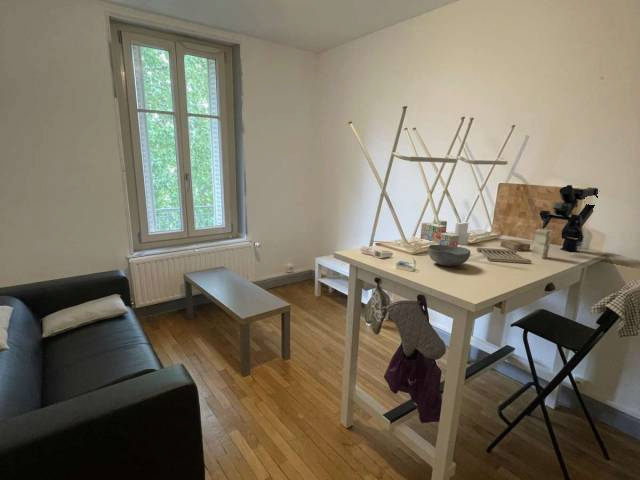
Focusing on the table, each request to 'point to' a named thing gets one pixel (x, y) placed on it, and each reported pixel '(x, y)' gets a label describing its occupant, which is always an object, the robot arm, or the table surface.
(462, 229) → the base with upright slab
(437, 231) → the stack of blocks
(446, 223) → the skincare box
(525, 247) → the walnut block
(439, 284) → the table surface
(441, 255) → the bowl
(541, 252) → the birch block
